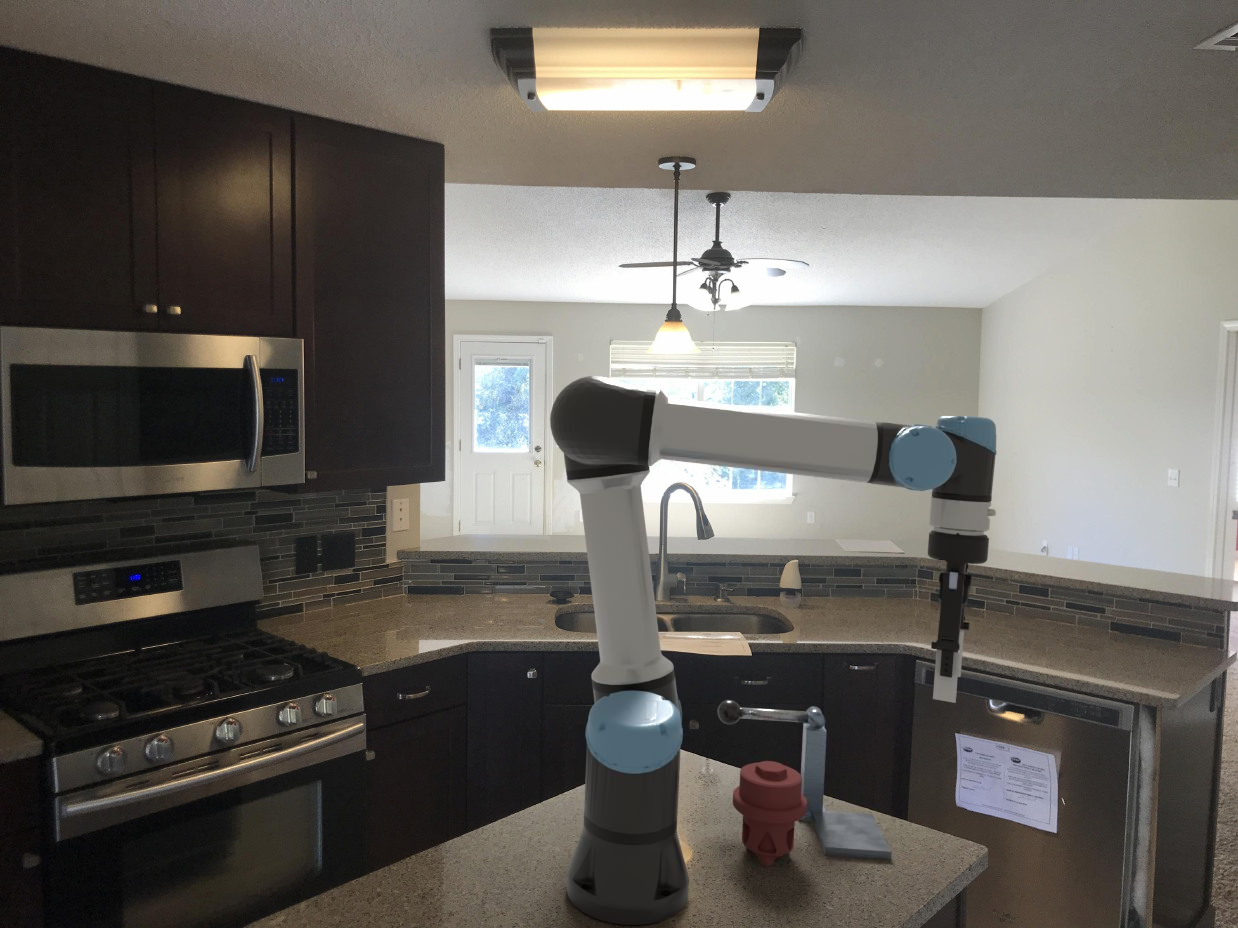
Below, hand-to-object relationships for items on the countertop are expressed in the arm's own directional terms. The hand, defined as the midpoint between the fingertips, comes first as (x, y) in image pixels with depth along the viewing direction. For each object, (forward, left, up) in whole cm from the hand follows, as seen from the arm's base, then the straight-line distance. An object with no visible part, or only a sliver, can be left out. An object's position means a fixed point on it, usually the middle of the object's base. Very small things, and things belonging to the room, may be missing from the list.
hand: (947, 687), depth 114 cm
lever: (-22, +12, -11) cm, 28 cm away
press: (-12, +7, -24) cm, 28 cm away
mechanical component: (-23, -1, -25) cm, 34 cm away
